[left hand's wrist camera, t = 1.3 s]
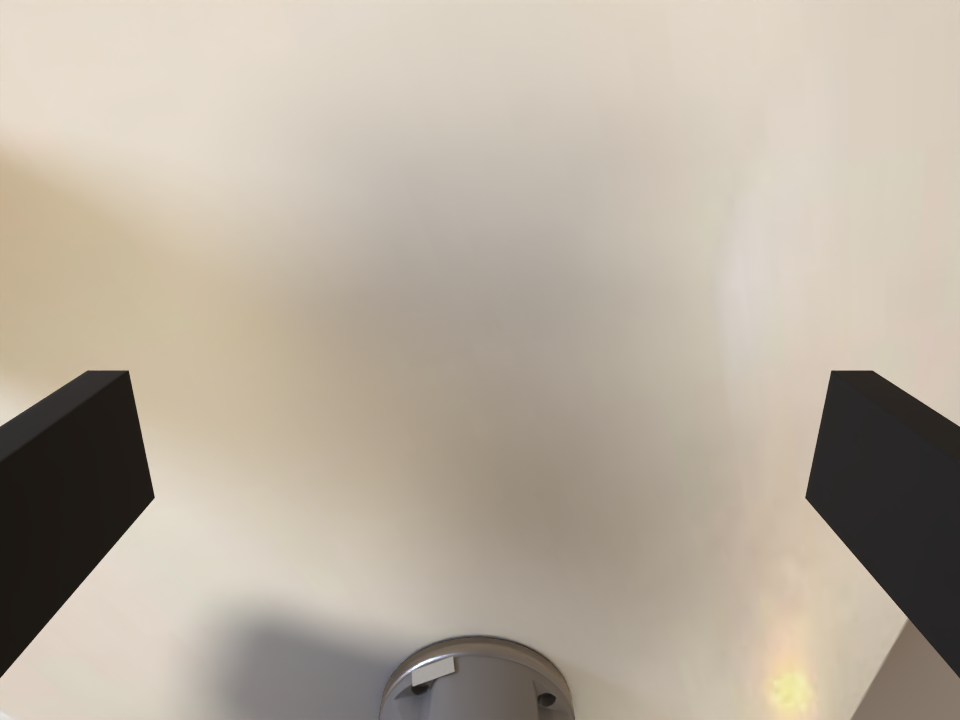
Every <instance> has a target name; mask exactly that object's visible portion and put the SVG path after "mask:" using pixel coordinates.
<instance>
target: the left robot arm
mask: <svg viewBox="0 0 960 720" xmlns="http://www.w3.org/2000/svg"><path fill="white" fill-rule="evenodd" d="M154 498H155V497H154V492H153V487H152V482H151V477H150V472H149V468H148V463H147V458H146V453H145V448H144V443H143V438H142V433H141V429H140V424H139V419H138V414H137V409H136V404H135V399H134V395H133V390H132V385H131V380H130V375H129V371H86V372H85V373H83V374H82V375H80V376H78V377H77V378H75V379H74V380H72V381H71V382H69V383H68V384H66V385H64V386H63V387H61V388H60V389H58V390H57V391H55V392H54V393H52V394H50V395H49V396H47V397H46V398H44V399H43V400H41V401H40V402H38V403H36V404H35V405H33V406H32V407H30V408H29V409H27V410H26V411H24V412H22V413H21V414H19V415H18V416H16V417H15V418H13V419H12V420H10V421H8V422H7V423H5V424H4V425H2V426H1V427H0V678H1V677H2V675H3V674H4V673H5V672H6V671H7V670H8V668H9V667H10V666H11V665H12V664H13V663H14V661H15V660H16V659H17V658H18V657H19V656H20V654H21V653H22V652H23V651H24V650H25V649H26V647H27V646H28V645H29V644H30V643H31V642H32V640H33V639H34V638H35V637H36V636H37V635H38V633H39V632H40V631H41V630H42V629H43V628H44V626H45V625H46V624H47V623H48V622H49V621H50V619H51V618H52V617H53V616H54V615H55V614H56V612H57V611H58V610H59V609H60V608H61V607H62V605H63V604H64V603H65V602H66V601H67V600H68V598H69V597H70V596H71V595H72V594H73V593H74V591H75V590H76V589H77V588H78V587H79V586H80V584H81V583H82V582H83V581H84V580H85V579H86V577H87V576H88V575H89V574H90V573H91V572H92V570H93V569H94V568H95V567H96V566H97V565H98V563H99V562H100V561H101V560H102V559H103V558H104V556H105V555H106V554H107V553H108V552H109V551H110V549H111V548H112V547H113V546H114V545H115V544H116V542H117V541H118V540H119V539H120V538H121V537H122V535H123V534H124V533H125V532H126V531H127V530H128V528H129V527H130V526H131V525H132V524H133V523H134V521H135V520H136V519H137V518H138V517H139V516H140V514H141V513H142V512H143V511H144V510H145V509H146V507H147V506H148V505H149V504H150V503H151V502H152V500H153V499H154ZM805 498H806V499H807V500H808V502H809V503H810V504H811V505H812V506H813V507H814V509H815V510H816V511H817V512H818V513H819V514H820V516H821V517H822V518H823V519H824V520H825V521H826V523H827V524H828V525H829V526H830V527H831V528H832V530H833V531H834V532H835V533H836V534H837V535H838V537H839V538H840V539H841V540H842V541H843V542H844V544H845V545H846V546H847V547H848V548H849V549H850V551H851V552H852V553H853V554H854V555H855V556H856V558H857V559H858V560H859V561H860V562H861V563H862V565H863V566H864V567H865V568H866V569H867V570H868V572H869V573H870V574H871V575H872V576H873V577H874V579H875V580H876V581H877V582H878V583H879V584H880V586H881V587H882V588H883V589H884V590H885V591H886V593H887V594H888V595H889V596H890V597H891V598H892V600H893V601H894V602H895V603H896V604H897V605H898V607H899V608H900V609H901V610H902V611H903V612H904V614H905V615H906V616H907V617H908V618H909V619H910V621H911V622H912V623H913V624H914V625H915V626H916V628H917V629H918V630H919V631H920V632H921V633H922V634H923V636H924V637H925V638H926V639H927V640H928V641H929V643H930V644H931V645H932V646H933V647H934V649H935V650H936V651H937V652H938V653H939V654H940V656H941V657H942V658H943V659H944V660H945V661H946V662H947V664H948V665H949V666H950V667H951V668H952V669H953V671H954V672H955V673H956V674H957V675H958V677H959V678H960V427H959V426H958V425H956V424H955V423H953V422H952V421H950V420H948V419H947V418H945V417H944V416H942V415H941V414H939V413H938V412H936V411H934V410H933V409H931V408H930V407H928V406H927V405H925V404H924V403H922V402H920V401H919V400H917V399H916V398H914V397H913V396H911V395H910V394H908V393H906V392H905V391H903V390H902V389H900V388H899V387H897V386H896V385H894V384H892V383H891V382H889V381H888V380H886V379H885V378H883V377H882V376H880V375H878V374H877V373H875V372H874V371H831V375H830V380H829V385H828V390H827V395H826V399H825V404H824V409H823V414H822V419H821V424H820V429H819V433H818V438H817V443H816V448H815V453H814V458H813V463H812V468H811V472H810V477H809V482H808V487H807V492H806V497H805ZM379 720H575V717H574V710H573V704H572V698H571V694H570V690H569V688H568V685H567V683H566V682H565V680H564V678H563V677H562V675H561V674H560V672H559V671H558V670H557V669H556V668H555V667H554V666H553V665H552V664H551V663H550V662H549V661H547V660H546V659H545V658H543V657H542V656H541V655H539V654H537V653H536V652H534V651H532V650H530V649H528V648H526V647H523V646H521V645H518V644H515V643H512V642H508V641H504V640H499V639H493V638H481V637H473V638H459V639H453V640H448V641H444V642H440V643H437V644H435V645H432V646H429V647H427V648H425V649H423V650H421V651H419V652H417V653H415V654H414V655H412V656H411V657H409V658H408V659H407V660H406V661H404V662H403V663H402V664H401V665H400V666H399V667H398V668H397V669H396V670H395V672H394V673H393V674H392V676H391V677H390V679H389V681H388V682H387V685H386V687H385V689H384V693H383V697H382V703H381V709H380V714H379Z"/></svg>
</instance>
